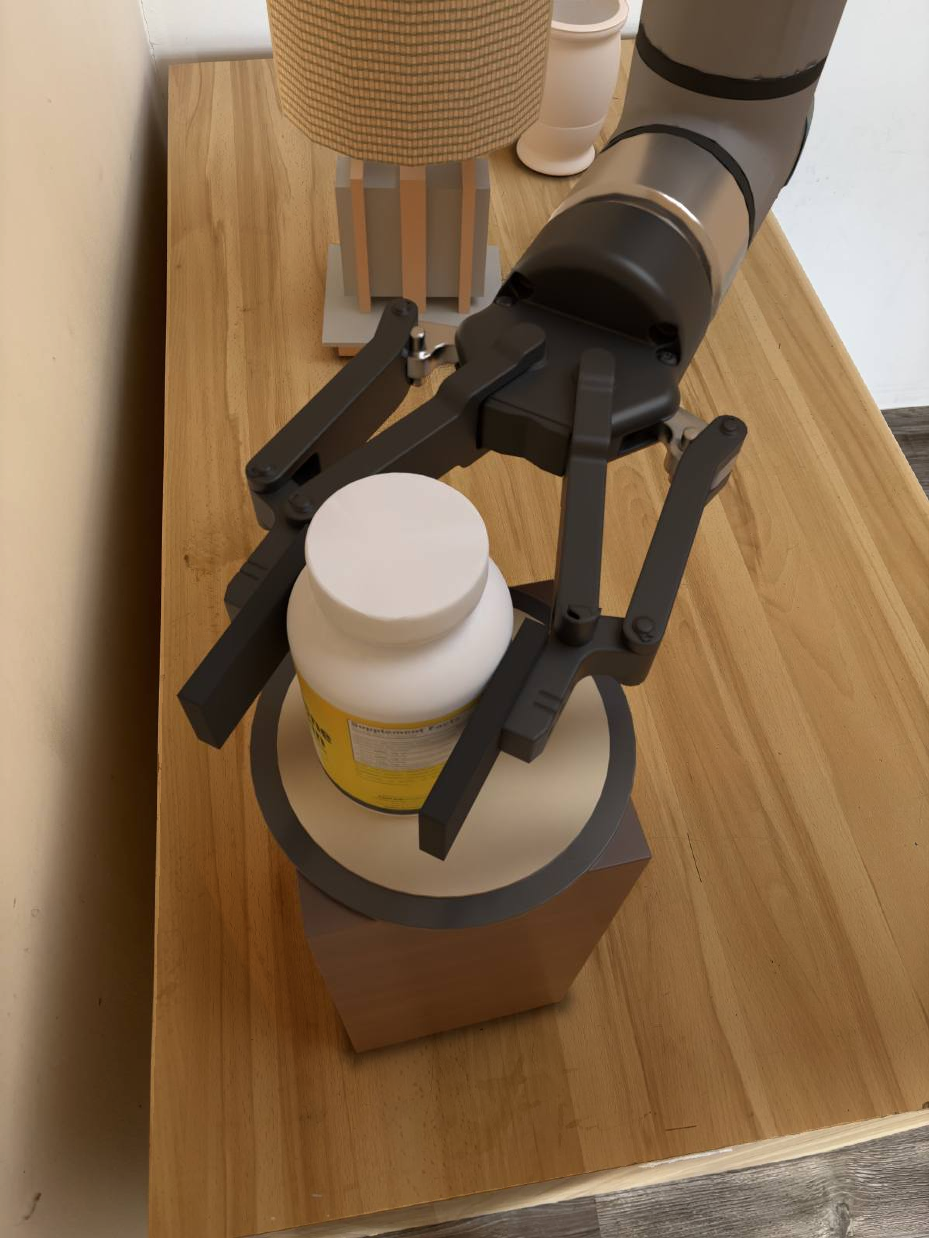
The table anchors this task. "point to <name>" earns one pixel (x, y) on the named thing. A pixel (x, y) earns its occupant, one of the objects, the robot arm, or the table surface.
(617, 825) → the tall brown block
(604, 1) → the jar
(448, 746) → the pill bottle
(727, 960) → the table surface
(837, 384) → the table surface
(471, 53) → the desk lamp
